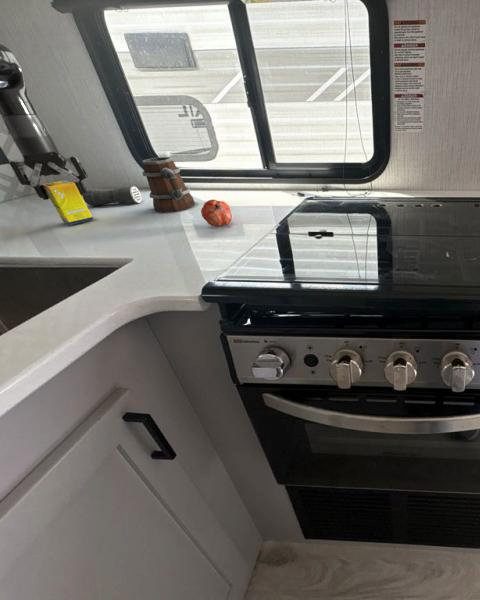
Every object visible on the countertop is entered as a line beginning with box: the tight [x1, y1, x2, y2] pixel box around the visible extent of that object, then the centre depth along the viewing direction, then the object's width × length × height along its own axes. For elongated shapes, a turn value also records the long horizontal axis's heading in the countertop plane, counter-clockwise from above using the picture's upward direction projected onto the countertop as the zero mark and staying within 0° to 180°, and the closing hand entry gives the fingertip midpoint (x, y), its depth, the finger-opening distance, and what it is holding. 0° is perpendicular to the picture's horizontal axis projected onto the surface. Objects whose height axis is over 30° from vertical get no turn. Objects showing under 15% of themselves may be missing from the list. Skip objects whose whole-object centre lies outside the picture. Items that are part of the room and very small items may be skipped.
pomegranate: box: [200, 199, 233, 227], centre depth 92 cm, size 7×7×10 cm
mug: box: [141, 156, 196, 213], centre depth 105 cm, size 16×12×15 cm
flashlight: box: [82, 186, 143, 207], centre depth 113 cm, size 15×5×5 cm, turn 102°
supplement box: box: [41, 180, 94, 226], centre depth 96 cm, size 6×6×11 cm
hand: (65, 197), depth 95 cm, fingers open, 8 cm apart
